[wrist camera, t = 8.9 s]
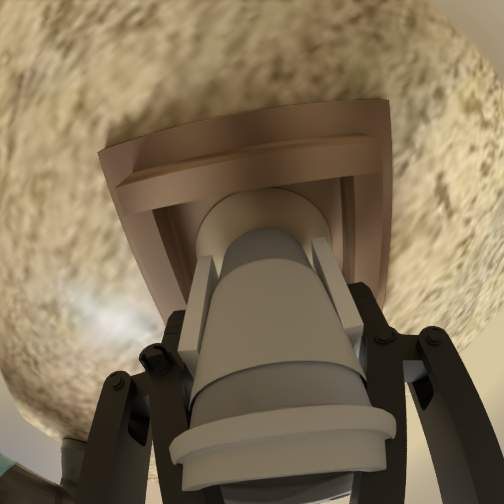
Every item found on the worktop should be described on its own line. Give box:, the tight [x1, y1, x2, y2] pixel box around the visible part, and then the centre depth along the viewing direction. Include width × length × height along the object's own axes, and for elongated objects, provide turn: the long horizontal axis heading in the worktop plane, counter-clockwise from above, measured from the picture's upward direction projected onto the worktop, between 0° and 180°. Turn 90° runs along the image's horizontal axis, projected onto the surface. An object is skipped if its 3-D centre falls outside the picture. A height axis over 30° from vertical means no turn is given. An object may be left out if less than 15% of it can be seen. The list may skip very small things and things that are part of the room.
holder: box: [97, 99, 392, 325], centre depth 17 cm, size 16×16×4 cm
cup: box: [169, 228, 396, 504], centre depth 11 cm, size 7×7×12 cm
